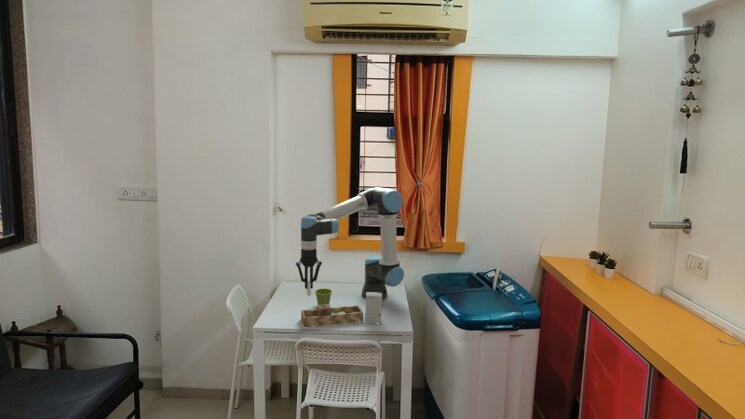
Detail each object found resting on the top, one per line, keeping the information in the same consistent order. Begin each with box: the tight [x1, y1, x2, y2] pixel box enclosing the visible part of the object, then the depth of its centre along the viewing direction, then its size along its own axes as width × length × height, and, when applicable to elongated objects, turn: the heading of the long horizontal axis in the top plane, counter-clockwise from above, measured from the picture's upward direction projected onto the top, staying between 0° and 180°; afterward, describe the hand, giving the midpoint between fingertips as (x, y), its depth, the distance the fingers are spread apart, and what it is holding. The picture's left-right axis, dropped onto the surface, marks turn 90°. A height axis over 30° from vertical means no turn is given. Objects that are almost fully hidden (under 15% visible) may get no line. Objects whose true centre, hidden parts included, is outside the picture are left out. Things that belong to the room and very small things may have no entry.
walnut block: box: [316, 303, 332, 316], centre depth 228 cm, size 6×6×5 cm
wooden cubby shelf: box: [300, 304, 364, 328], centre depth 230 cm, size 30×10×5 cm, turn 106°
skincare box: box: [364, 292, 383, 325], centre depth 229 cm, size 8×6×15 cm
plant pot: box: [314, 288, 333, 305], centre depth 248 cm, size 9×9×9 cm
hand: (308, 294), depth 224 cm, fingers closed
